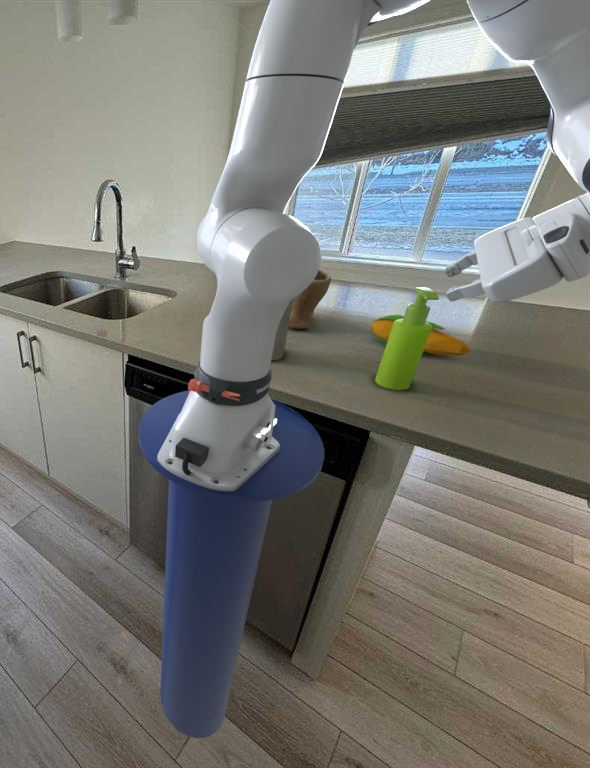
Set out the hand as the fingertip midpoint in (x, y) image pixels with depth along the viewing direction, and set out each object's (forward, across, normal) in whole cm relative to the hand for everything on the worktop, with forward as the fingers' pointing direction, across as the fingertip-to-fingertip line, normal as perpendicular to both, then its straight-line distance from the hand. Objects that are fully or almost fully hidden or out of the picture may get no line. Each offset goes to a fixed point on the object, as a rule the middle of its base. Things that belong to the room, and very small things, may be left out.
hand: (447, 284), depth 70 cm
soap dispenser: (+15, +2, +15) cm, 22 cm away
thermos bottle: (+36, -2, 0) cm, 36 cm away
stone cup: (+36, -26, +5) cm, 44 cm away
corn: (+14, -17, +20) cm, 30 cm away
